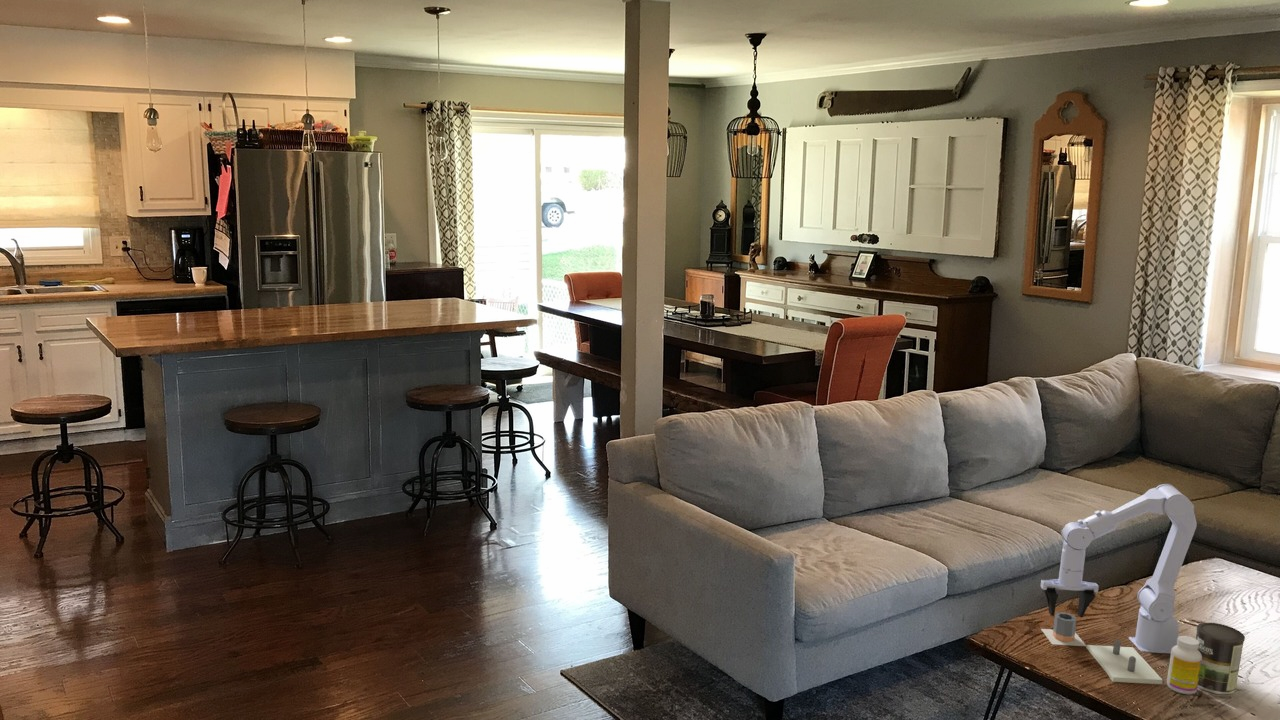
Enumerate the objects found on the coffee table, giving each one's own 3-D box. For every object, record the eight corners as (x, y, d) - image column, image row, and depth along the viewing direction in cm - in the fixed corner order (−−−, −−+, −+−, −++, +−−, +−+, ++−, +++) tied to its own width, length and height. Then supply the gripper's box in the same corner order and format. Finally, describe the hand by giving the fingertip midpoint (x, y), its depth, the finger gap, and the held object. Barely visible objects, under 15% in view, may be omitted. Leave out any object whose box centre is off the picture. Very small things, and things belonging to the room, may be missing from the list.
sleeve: (1069, 633, 271) (1071, 613, 270) (1076, 642, 266) (1078, 621, 265) (1050, 632, 272) (1053, 612, 270) (1057, 641, 267) (1059, 620, 265)
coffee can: (1206, 695, 242) (1214, 641, 239) (1180, 674, 252) (1187, 622, 249) (1246, 694, 243) (1254, 641, 240) (1218, 673, 253) (1226, 622, 250)
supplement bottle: (1200, 697, 241) (1208, 648, 238) (1171, 693, 242) (1178, 644, 240) (1191, 683, 247) (1198, 635, 245) (1162, 680, 248) (1169, 632, 246)
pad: (1073, 631, 273) (1074, 630, 273) (1086, 647, 264) (1086, 646, 264) (1040, 630, 274) (1040, 628, 274) (1052, 645, 265) (1052, 644, 265)
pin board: (1132, 651, 263) (1134, 633, 262) (1162, 684, 246) (1164, 665, 245) (1086, 649, 263) (1088, 631, 262) (1112, 681, 247) (1115, 663, 246)
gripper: (1093, 563, 269) (1087, 609, 271) (1039, 560, 269) (1033, 606, 272) (1104, 573, 262) (1097, 621, 264) (1048, 570, 262) (1042, 618, 265)
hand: (1065, 614), depth 268 cm, fingers open, 7 cm apart
